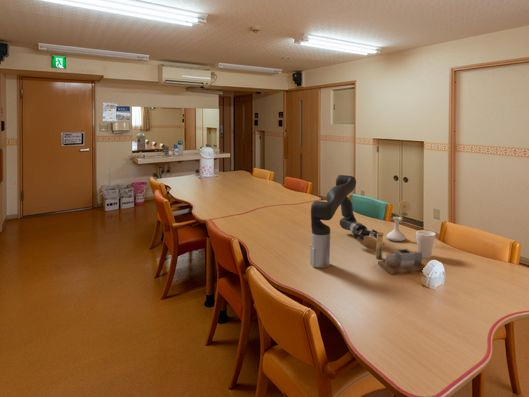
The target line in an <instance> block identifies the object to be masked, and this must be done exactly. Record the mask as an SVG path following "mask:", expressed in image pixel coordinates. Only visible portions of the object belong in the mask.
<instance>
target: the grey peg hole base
mask: <svg viewBox="0 0 529 397" xmlns="http://www.w3.org/2000/svg"><path fill="white" fill-rule="evenodd" d="M385 261H386V260H378V261H377V265H379V266H380V267H381V268H382V269H384V270H385V271H386V272H387V273H388V274H390V275H391V276H397V275H407V274H419V273H423V272H422V270H423V268H424V267H425V266H426V265H425V264H424V263H423V262H422V263H421V264H414V267H408V268H400V267H398V266H388V267H386V266H385Z"/></svg>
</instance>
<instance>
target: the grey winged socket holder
mask: <svg viewBox="0 0 529 397" xmlns="http://www.w3.org/2000/svg"><path fill="white" fill-rule="evenodd" d="M422 260H423V258H422V252H417V251H414V252H413V251H412V250H410V249H408V248H400V249H393V253H392V254H391V253H390V254H389V253H388V254H387V253H386V254H385V260H384V261H385V266H386V267H388V266H398V267H400V268H408V267H414V264H421V263H422V264H423V262H422Z"/></svg>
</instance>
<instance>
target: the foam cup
mask: <svg viewBox="0 0 529 397" xmlns="http://www.w3.org/2000/svg"><path fill="white" fill-rule="evenodd" d="M415 232H416V233H415V237H416V248H417V249H416V252H422V259H429V258H431V256H432V252H433V248H434V244H435V240H436V236H437V235H436V233H435V232H434V231H431V230H423V229H422V230H416V231H415Z"/></svg>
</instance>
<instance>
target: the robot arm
mask: <svg viewBox="0 0 529 397" xmlns="http://www.w3.org/2000/svg"><path fill="white" fill-rule="evenodd" d="M356 185H357V179H356V177H355V176H353V175H345V174H339V175H337V176H336V179H335V186H333V187H332V188H330V189H329V190H328V192H327V193H326V201H321V200H320V201H319V200H315V201H313V202H312V203H311V204H310V205H311V206H310V219H311V220H310V225H311V226H310V228H311V245H310V247H309V248H310V249H309V250H310V251H309V252H310V253H309V255H310V256H309V258H310V259H309V261H310V262H309V263H310V265H311V266H312V267H313V268H317V269H323V268H325V269H326V268H329V267H330V265H331V264H330V263H331V262H330V261H331V260H330V259H331V258H330V256H331V254H330V253H331V227H330V226H329V225H327V224H325V223H323V222H322V221H330V220H332V219H333V217H334V215H335V213H336V212H337V210H338V209H339V207H340V209H341V211H340V212H341V216H342V218H341V219H340V220H339V226H340V227H341V228H342V229H343V230H346V231H351V236H352V237H353V238H355V239H357V238H358V239H359V240H362V241H364V240H365V237H368V238H372V237H373V238H374V239H376V240H377V232H378V231H377V230H375V229H371V230H369V229H368V228H367V226H365V224H362V223H361V222H359V221H357V219H356V217H355V214H354V211H353V210H354V207H353V202H352V201H351V199H350V198H349V197H348V195H350V194H351V193H352V192H353V191H355V188H356Z"/></svg>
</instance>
